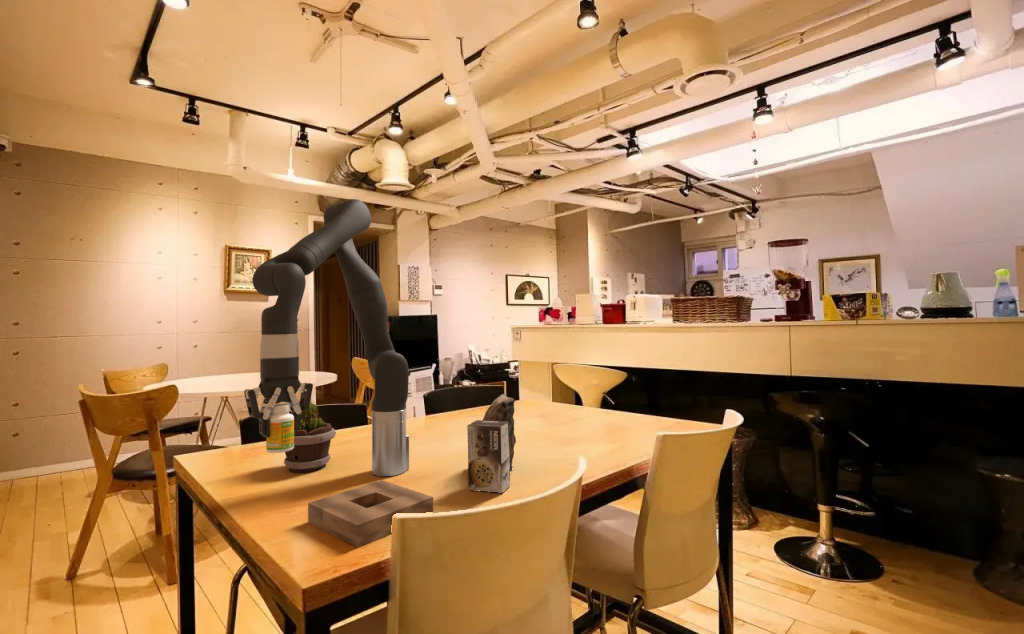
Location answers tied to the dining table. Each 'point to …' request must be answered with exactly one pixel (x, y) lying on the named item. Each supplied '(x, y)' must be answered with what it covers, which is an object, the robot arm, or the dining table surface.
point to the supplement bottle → (280, 430)
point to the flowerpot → (310, 443)
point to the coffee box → (488, 456)
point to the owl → (503, 418)
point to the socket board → (366, 511)
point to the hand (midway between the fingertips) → (280, 433)
